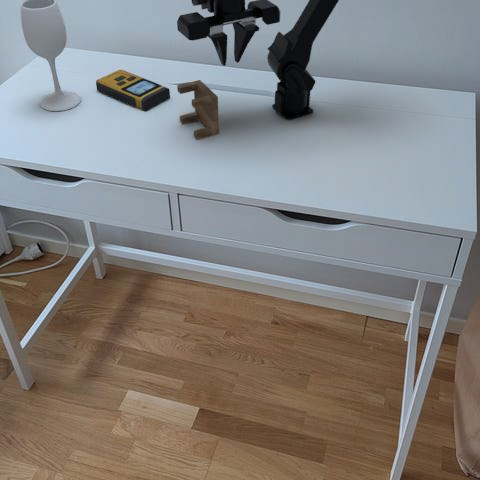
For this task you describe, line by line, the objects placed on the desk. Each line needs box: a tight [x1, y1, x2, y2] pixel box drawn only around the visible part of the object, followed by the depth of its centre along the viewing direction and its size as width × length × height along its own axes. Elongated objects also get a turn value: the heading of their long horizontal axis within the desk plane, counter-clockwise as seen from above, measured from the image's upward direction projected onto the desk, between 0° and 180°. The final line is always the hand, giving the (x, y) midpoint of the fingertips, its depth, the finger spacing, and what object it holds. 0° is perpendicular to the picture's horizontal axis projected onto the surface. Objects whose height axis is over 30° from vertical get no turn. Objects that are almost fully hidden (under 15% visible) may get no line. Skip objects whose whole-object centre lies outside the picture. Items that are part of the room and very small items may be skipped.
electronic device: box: [95, 69, 171, 112], centre depth 129 cm, size 8×16×3 cm, turn 51°
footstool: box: [176, 79, 220, 141], centre depth 116 cm, size 5×8×8 cm, turn 28°
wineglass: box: [20, 0, 82, 112], centre depth 120 cm, size 9×9×21 cm
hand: (230, 63), depth 113 cm, fingers open, 3 cm apart
